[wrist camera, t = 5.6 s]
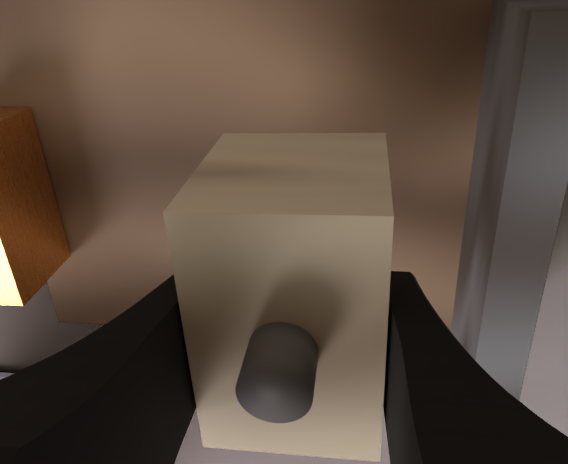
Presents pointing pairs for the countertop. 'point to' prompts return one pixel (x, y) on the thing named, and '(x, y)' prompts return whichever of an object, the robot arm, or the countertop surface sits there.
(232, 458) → the countertop surface
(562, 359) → the countertop surface
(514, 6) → the press bed
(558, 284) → the countertop surface
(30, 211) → the block
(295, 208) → the block
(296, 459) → the countertop surface
